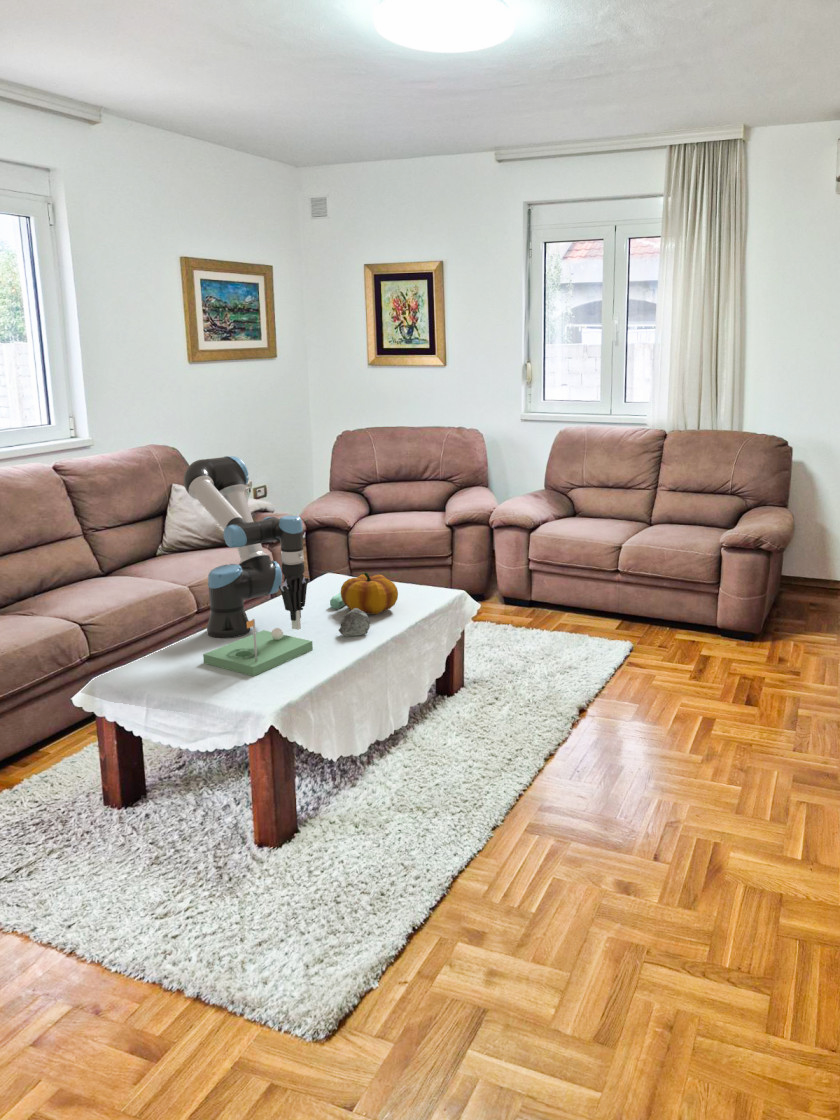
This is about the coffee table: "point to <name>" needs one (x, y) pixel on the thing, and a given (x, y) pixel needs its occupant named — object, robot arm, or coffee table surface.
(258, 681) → the coffee table surface
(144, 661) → the coffee table surface
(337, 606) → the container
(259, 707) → the coffee table surface
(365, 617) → the stone
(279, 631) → the ball
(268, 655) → the green
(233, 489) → the robot arm
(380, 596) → the decorative pumpkin
